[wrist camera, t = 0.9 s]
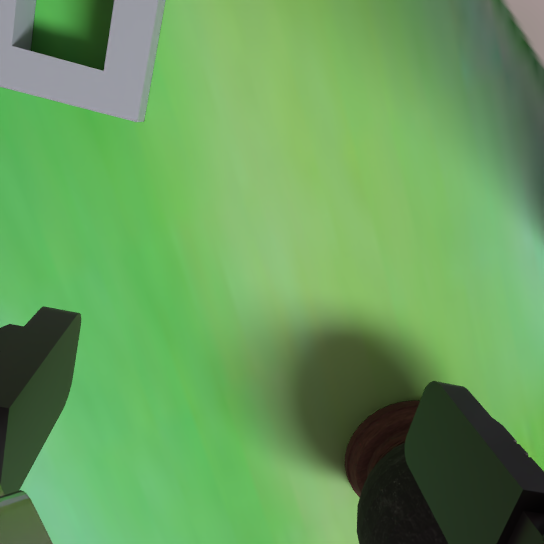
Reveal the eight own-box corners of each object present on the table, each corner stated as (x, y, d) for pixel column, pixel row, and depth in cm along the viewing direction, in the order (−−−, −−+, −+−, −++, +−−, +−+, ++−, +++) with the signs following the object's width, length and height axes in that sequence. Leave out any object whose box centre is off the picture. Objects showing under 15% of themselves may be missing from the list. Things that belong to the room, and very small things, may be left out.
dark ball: (372, 535, 47) (440, 719, 33) (307, 438, 43) (353, 601, 28) (496, 469, 46) (621, 629, 32) (442, 364, 42) (558, 493, 27)
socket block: (2, -97, 29) (-22, -120, 26) (172, -42, 30) (168, -58, 28) (-14, 80, 31) (-37, 77, 29) (143, 121, 33) (137, 122, 30)
